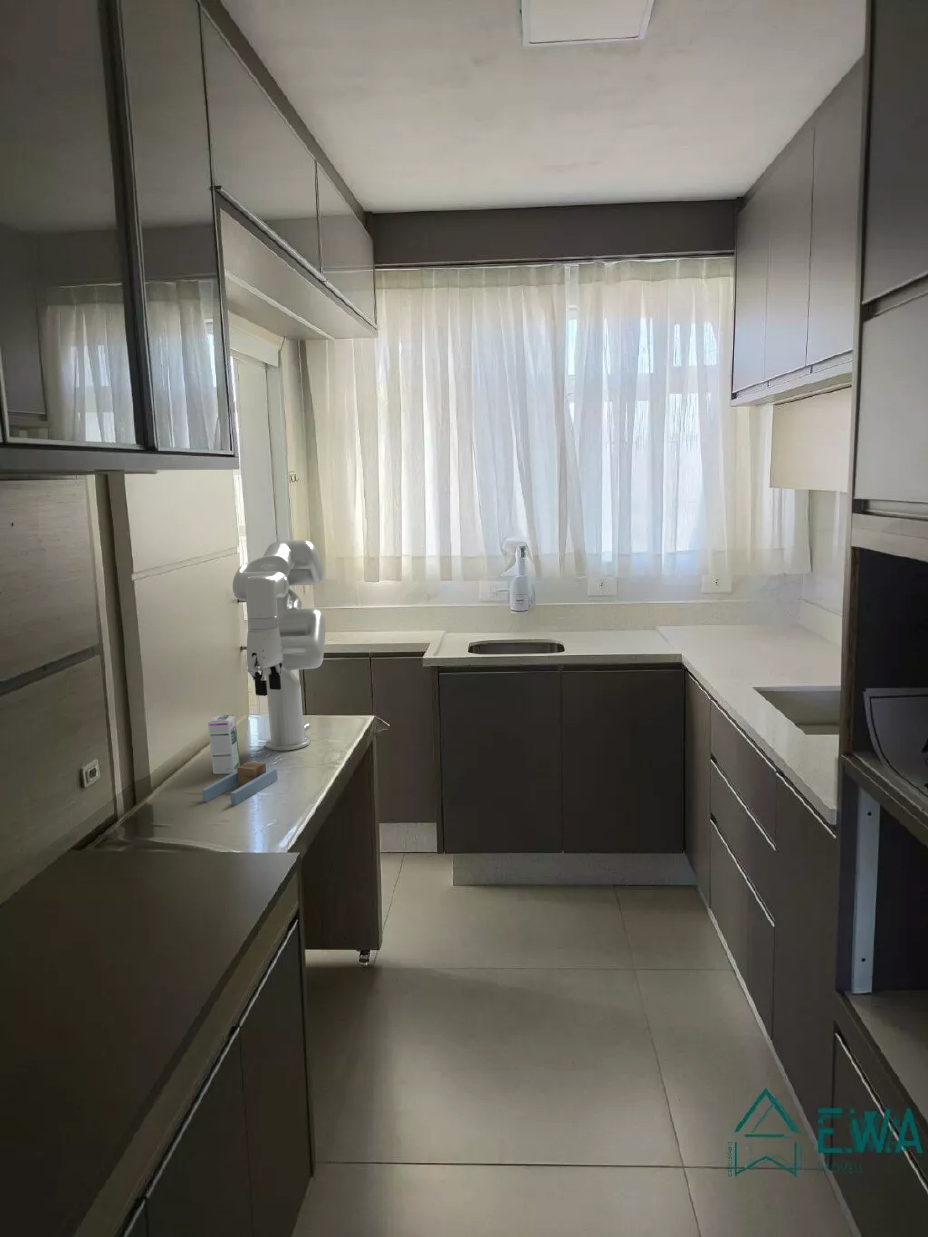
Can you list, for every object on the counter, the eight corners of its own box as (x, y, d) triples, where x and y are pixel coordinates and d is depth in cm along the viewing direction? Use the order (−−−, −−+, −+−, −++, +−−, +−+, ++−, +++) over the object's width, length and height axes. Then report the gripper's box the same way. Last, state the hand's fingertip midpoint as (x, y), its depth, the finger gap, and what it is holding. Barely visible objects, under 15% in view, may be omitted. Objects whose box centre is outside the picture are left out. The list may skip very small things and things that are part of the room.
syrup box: (234, 773, 235) (230, 720, 233) (212, 774, 235) (207, 721, 233) (240, 766, 241) (236, 714, 238) (218, 767, 241) (214, 715, 239)
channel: (246, 776, 232) (245, 765, 232) (277, 780, 229) (276, 768, 229) (202, 801, 216) (201, 789, 215) (235, 805, 212) (234, 793, 212)
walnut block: (250, 780, 230) (248, 761, 229) (266, 781, 228) (265, 763, 228) (238, 786, 226) (237, 767, 225) (255, 788, 224) (254, 769, 223)
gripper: (269, 617, 239) (274, 683, 242) (231, 629, 223) (236, 699, 226) (293, 618, 236) (298, 685, 239) (256, 630, 220) (262, 701, 223)
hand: (268, 691), depth 233 cm, fingers open, 5 cm apart
